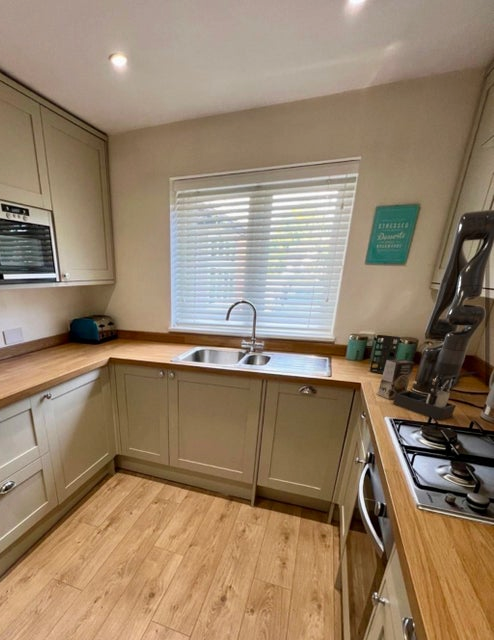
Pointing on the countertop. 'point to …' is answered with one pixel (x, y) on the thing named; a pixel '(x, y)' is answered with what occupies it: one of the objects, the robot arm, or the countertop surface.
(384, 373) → the coffee box
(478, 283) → the robot arm
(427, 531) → the countertop surface
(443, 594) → the countertop surface
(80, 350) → the countertop surface
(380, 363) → the holder
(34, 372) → the countertop surface
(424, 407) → the cup holder
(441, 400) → the cup
